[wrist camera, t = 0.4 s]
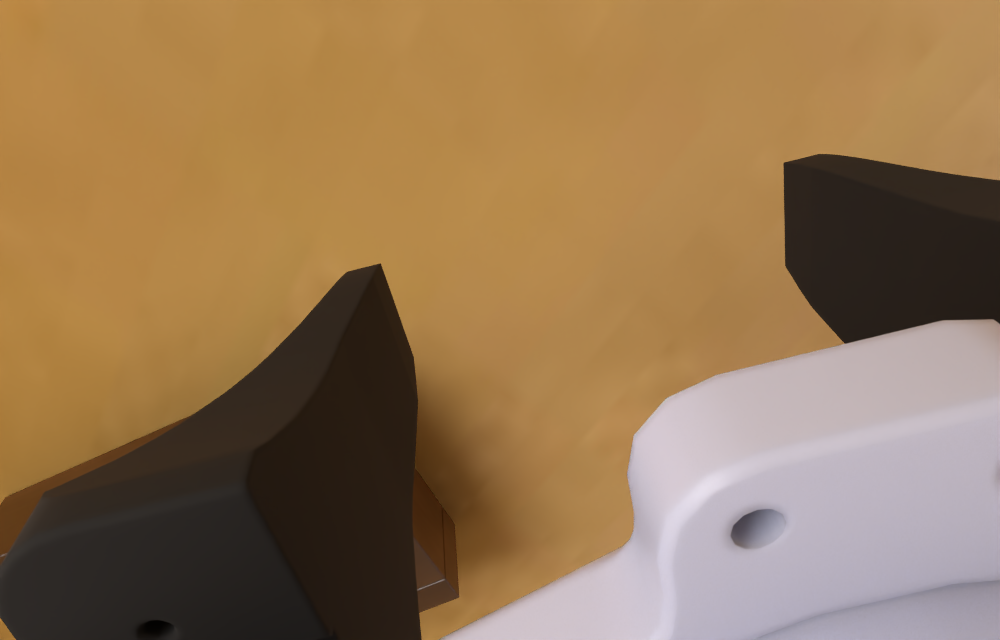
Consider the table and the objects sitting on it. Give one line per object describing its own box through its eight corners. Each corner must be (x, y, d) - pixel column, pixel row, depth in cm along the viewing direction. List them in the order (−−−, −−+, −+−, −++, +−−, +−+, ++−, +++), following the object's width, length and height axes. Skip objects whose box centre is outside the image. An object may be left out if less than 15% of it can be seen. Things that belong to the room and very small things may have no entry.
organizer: (455, 524, 30) (459, 598, 27) (169, 637, 32) (143, 718, 29) (334, 351, 25) (323, 417, 22) (4, 497, 27) (-48, 576, 24)
